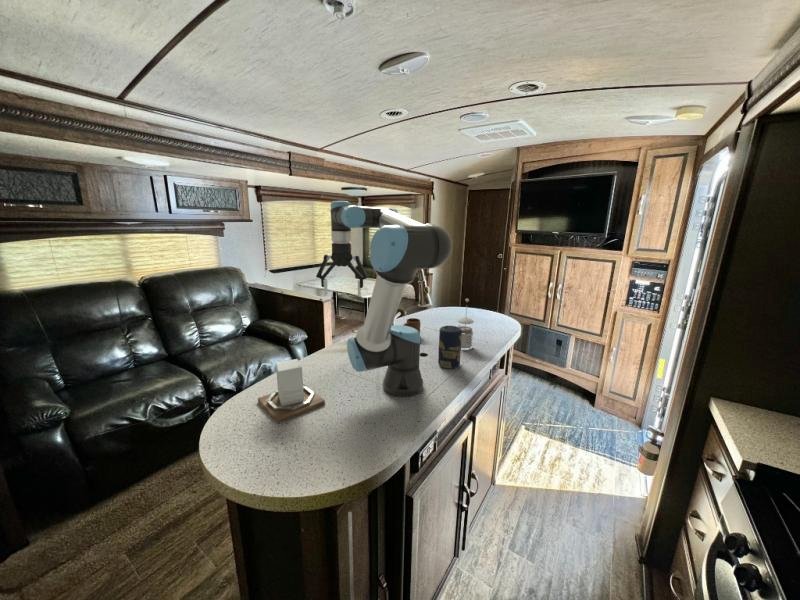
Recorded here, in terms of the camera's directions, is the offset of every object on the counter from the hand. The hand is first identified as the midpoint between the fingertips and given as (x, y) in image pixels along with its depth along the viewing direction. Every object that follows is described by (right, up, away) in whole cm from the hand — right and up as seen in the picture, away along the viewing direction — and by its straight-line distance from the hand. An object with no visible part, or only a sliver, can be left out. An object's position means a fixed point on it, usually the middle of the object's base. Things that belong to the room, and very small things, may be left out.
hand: (342, 295), depth 129 cm
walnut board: (-13, -37, -22) cm, 45 cm away
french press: (+55, -26, +30) cm, 68 cm away
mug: (+29, -22, +42) cm, 56 cm away
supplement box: (-13, -35, -22) cm, 44 cm away
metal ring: (-13, -35, -23) cm, 44 cm away
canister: (+45, -30, +9) cm, 55 cm away
